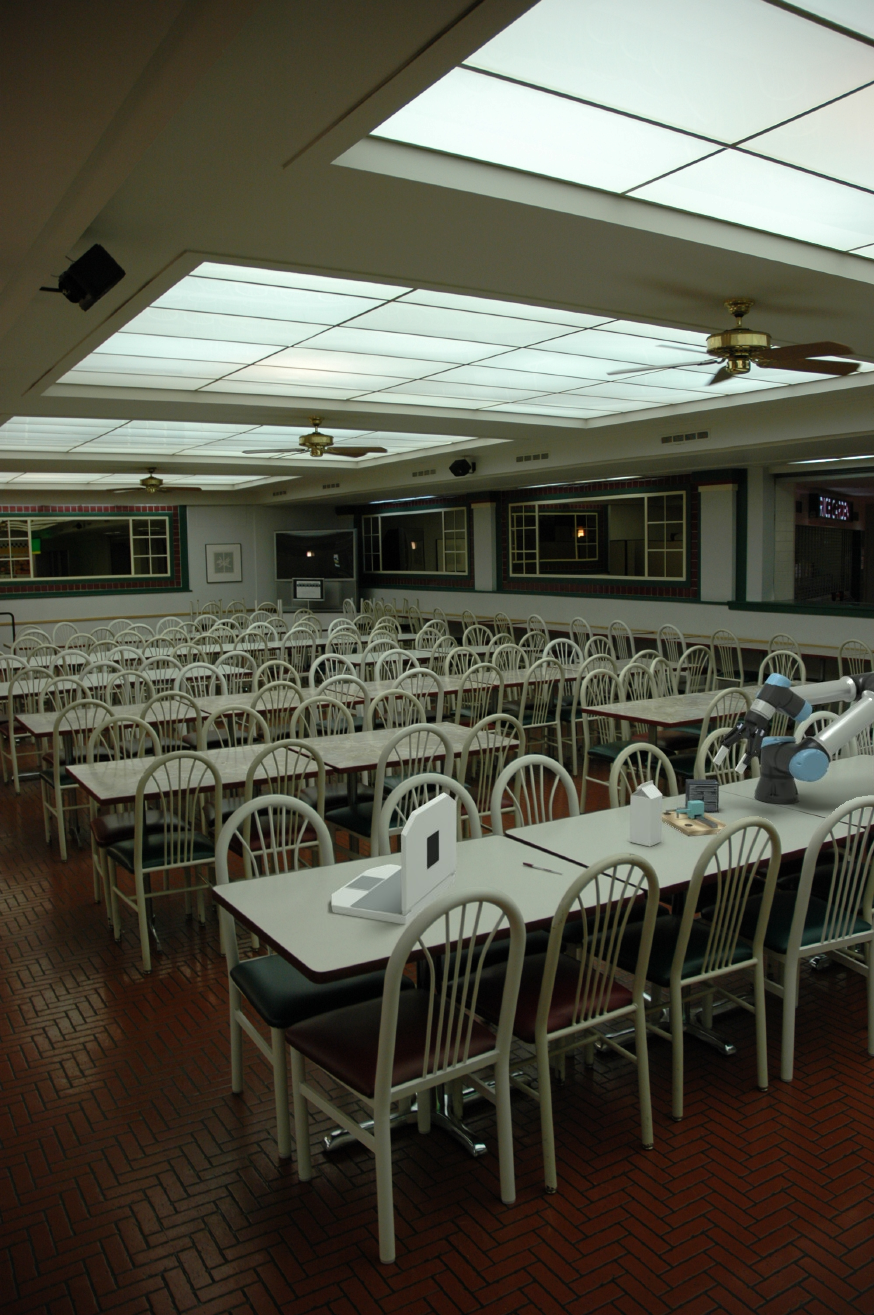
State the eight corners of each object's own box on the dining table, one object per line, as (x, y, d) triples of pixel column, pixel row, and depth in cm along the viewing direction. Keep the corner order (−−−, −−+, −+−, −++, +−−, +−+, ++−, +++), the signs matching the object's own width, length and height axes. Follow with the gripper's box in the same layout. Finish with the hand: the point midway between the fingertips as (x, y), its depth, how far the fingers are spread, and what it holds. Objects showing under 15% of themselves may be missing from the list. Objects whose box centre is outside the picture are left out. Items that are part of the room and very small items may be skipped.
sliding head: (699, 815, 310) (699, 800, 310) (703, 818, 308) (704, 802, 307) (674, 817, 308) (674, 802, 308) (678, 820, 305) (679, 804, 305)
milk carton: (661, 842, 288) (662, 782, 286) (649, 847, 283) (651, 786, 281) (641, 837, 293) (642, 778, 291) (629, 842, 287) (630, 782, 285)
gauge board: (697, 813, 319) (697, 809, 319) (733, 832, 298) (733, 827, 297) (655, 817, 315) (655, 812, 315) (688, 836, 294) (688, 831, 293)
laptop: (377, 870, 264) (376, 779, 261) (456, 881, 255) (456, 787, 252) (319, 911, 233) (317, 809, 231) (406, 926, 224) (406, 819, 221)
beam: (688, 810, 317) (688, 806, 317) (721, 827, 298) (721, 823, 297) (663, 812, 315) (664, 808, 315) (695, 830, 295) (695, 825, 295)
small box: (715, 808, 326) (716, 778, 325) (719, 813, 320) (719, 783, 319) (684, 807, 327) (685, 778, 326) (687, 812, 321) (688, 782, 320)
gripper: (730, 703, 328) (699, 754, 327) (773, 715, 304) (739, 770, 303) (745, 714, 330) (714, 765, 329) (789, 727, 306) (756, 781, 305)
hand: (726, 767), depth 316 cm, fingers open, 13 cm apart
